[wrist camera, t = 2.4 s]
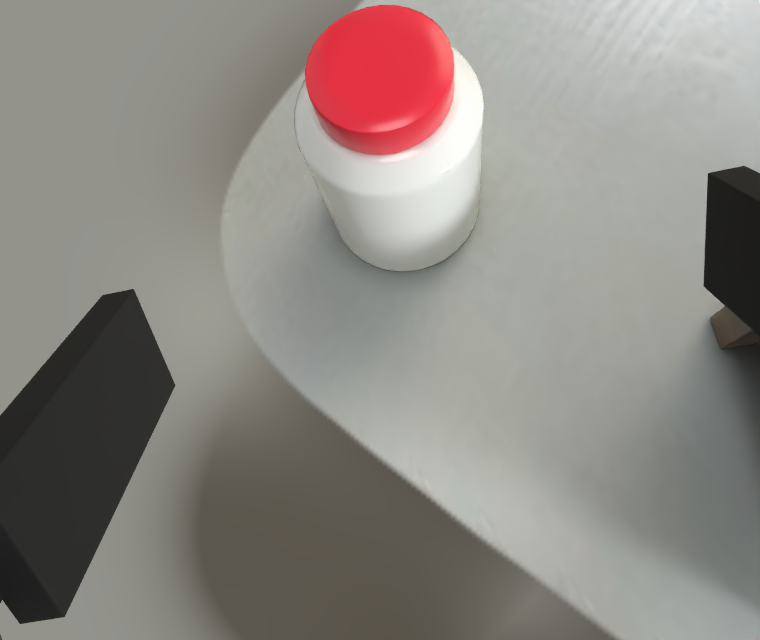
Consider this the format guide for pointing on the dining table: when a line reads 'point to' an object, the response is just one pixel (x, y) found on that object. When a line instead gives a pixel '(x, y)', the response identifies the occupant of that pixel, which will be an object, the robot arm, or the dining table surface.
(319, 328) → the dining table surface
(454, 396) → the dining table surface
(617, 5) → the dining table surface
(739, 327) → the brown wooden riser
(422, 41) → the pill bottle
